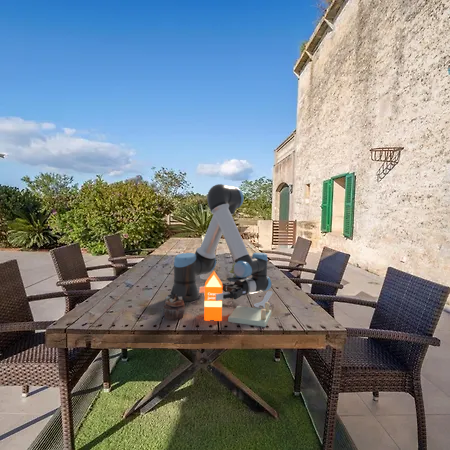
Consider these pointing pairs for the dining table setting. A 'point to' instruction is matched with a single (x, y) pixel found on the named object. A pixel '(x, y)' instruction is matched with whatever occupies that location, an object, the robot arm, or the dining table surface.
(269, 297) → the wrench
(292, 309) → the dining table surface
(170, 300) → the cupcake
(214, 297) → the orange juice
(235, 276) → the globe
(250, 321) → the plinth
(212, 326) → the dining table surface
